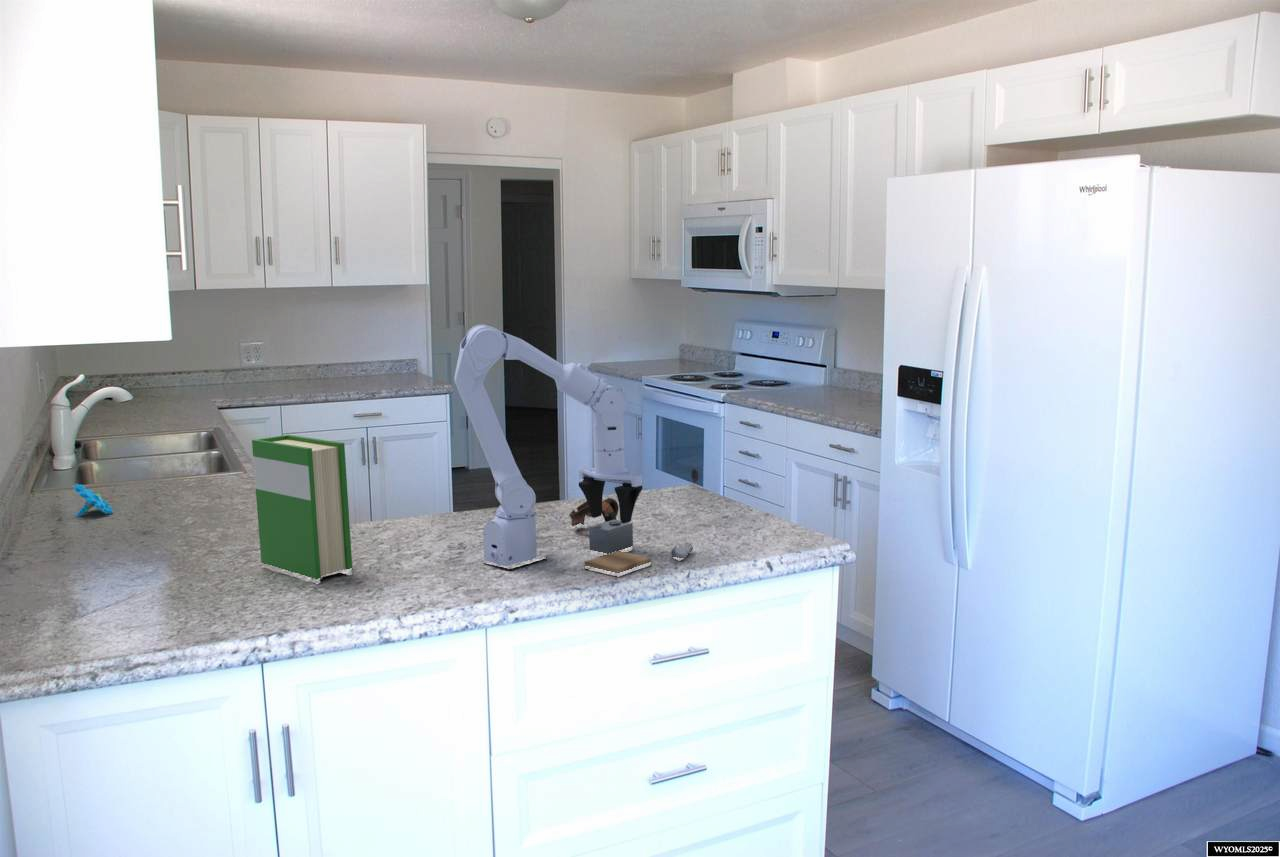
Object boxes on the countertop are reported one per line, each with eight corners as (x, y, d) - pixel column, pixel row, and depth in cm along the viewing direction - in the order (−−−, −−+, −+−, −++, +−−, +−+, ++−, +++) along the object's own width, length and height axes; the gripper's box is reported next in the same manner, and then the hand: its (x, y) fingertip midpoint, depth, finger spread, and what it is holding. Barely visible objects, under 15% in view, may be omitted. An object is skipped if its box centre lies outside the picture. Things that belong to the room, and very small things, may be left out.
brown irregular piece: (609, 541, 202) (587, 507, 201) (578, 555, 208) (556, 522, 207) (637, 514, 211) (617, 481, 211) (606, 528, 217) (586, 496, 216)
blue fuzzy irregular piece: (109, 511, 228) (73, 482, 226) (90, 531, 227) (53, 502, 225) (120, 507, 239) (85, 480, 237) (102, 526, 238) (66, 499, 236)
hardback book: (352, 574, 181) (344, 442, 177) (316, 584, 175) (307, 448, 171) (297, 559, 192) (288, 434, 188) (261, 568, 186) (251, 440, 182)
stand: (617, 577, 176) (617, 569, 175) (584, 569, 181) (584, 561, 181) (651, 565, 182) (650, 557, 182) (618, 558, 188) (618, 550, 187)
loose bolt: (685, 562, 184) (685, 547, 184) (671, 560, 185) (671, 546, 185) (695, 553, 190) (695, 539, 189) (681, 552, 191) (681, 538, 190)
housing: (608, 559, 188) (607, 528, 187) (589, 554, 191) (589, 525, 190) (633, 551, 193) (632, 521, 192) (614, 547, 196) (613, 518, 195)
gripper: (652, 449, 187) (653, 520, 189) (595, 442, 197) (597, 510, 199) (627, 455, 182) (629, 528, 184) (570, 447, 191) (572, 517, 193)
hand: (611, 519), depth 191 cm, fingers open, 7 cm apart
